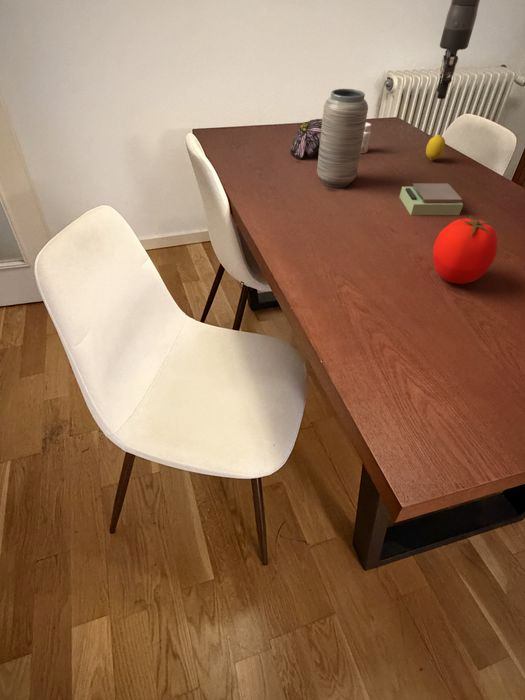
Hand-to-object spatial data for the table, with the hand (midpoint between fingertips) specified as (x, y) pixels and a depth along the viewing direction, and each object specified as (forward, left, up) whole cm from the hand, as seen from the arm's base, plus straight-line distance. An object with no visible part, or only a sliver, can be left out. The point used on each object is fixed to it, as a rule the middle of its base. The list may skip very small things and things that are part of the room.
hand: (440, 95), depth 121 cm
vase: (+32, +19, -19) cm, 42 cm away
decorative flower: (+37, -4, -19) cm, 42 cm away
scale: (+9, +35, -19) cm, 40 cm away
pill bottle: (+19, -7, -19) cm, 28 cm away
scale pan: (+8, +35, -15) cm, 39 cm away
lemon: (-3, +2, -19) cm, 19 cm away
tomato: (+15, +69, -19) cm, 73 cm away
